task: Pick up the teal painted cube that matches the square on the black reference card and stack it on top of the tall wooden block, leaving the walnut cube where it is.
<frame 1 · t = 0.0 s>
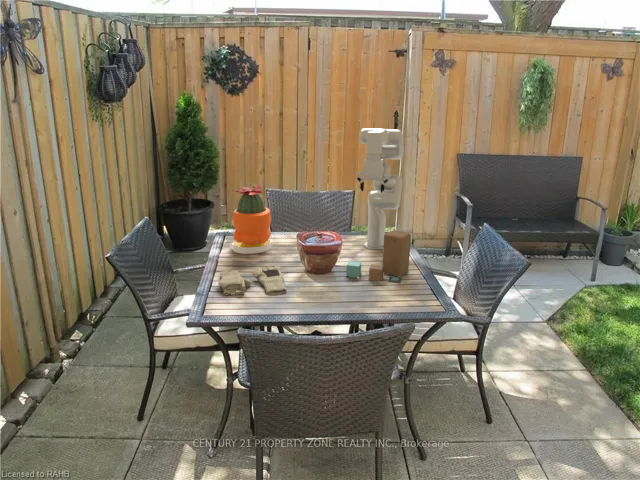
hand: (372, 191, 267), 37 cm above the table, tool pointing down, fingers open, 9 cm apart
potted cactus: (253, 249, 292), on the table
teal cube: (353, 275, 260), on the table
reference card: (394, 280, 254), on the table
pair of gloves: (251, 285, 247), on the table
wooden block: (395, 272, 264), on the table
walnut cube: (375, 278, 256), on the table
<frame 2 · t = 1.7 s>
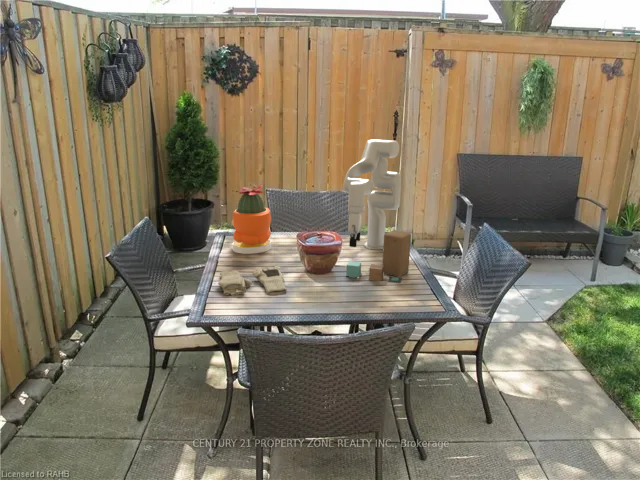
hand: (354, 243, 255), 16 cm above the table, tool pointing down, fingers open, 9 cm apart
nothing on the table moved.
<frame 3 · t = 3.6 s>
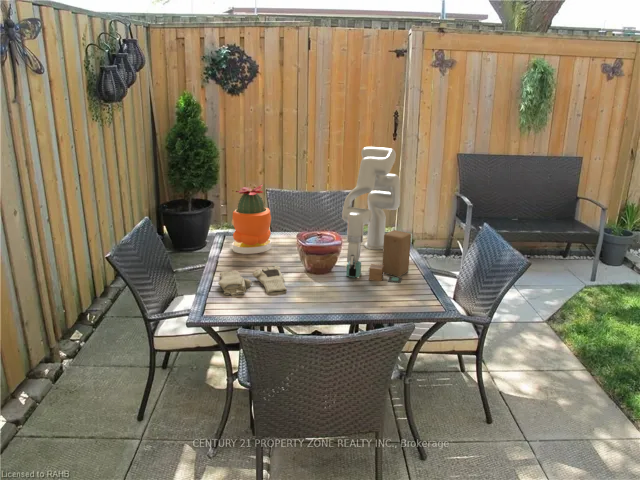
hand: (353, 273, 259), 1 cm above the table, tool pointing down, fingers closed on teal cube, 6 cm apart
teal cube: (353, 274, 260), on the table, touching gripper
everything else where it was.
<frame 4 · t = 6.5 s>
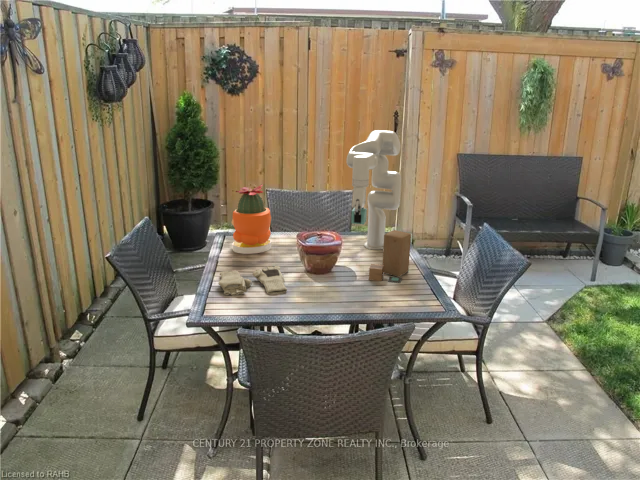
hand: (358, 220, 251), 27 cm above the table, tool pointing down, fingers closed on teal cube, 6 cm apart
teal cube: (358, 222, 252), point 26 cm above the table, touching gripper
everything else where it was.
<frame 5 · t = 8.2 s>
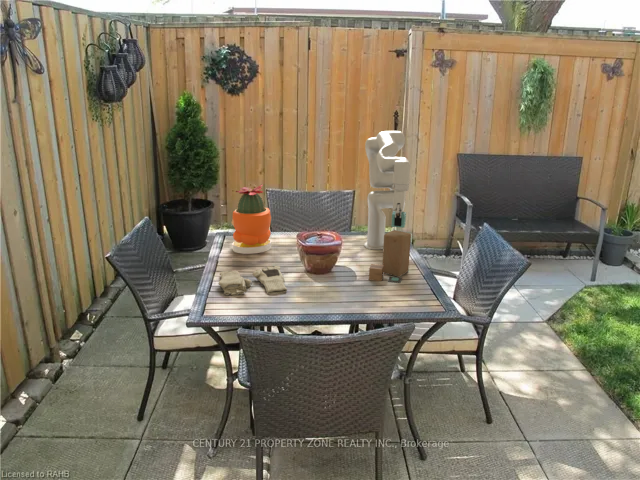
hand: (398, 223, 256), 25 cm above the table, tool pointing down, fingers closed on teal cube, 6 cm apart
teal cube: (398, 225, 256), point 24 cm above the table, touching gripper
everything else where it was.
when the fingers open (22 cm above the table, at t = 9.5 s): teal cube drops 1 cm, resting on wooden block.
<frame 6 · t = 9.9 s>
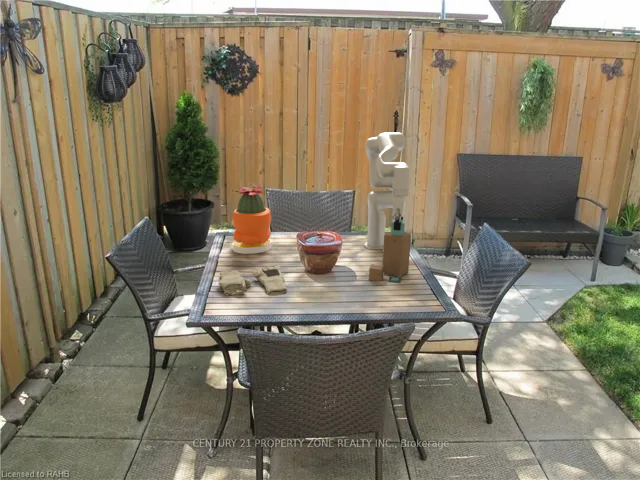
hand: (398, 227, 257), 23 cm above the table, tool pointing down, fingers open, 9 cm apart
teal cube: (397, 233, 258), point 20 cm above the table, touching wooden block
wooden block: (395, 272, 264), on the table, touching teal cube
everything else where it was.
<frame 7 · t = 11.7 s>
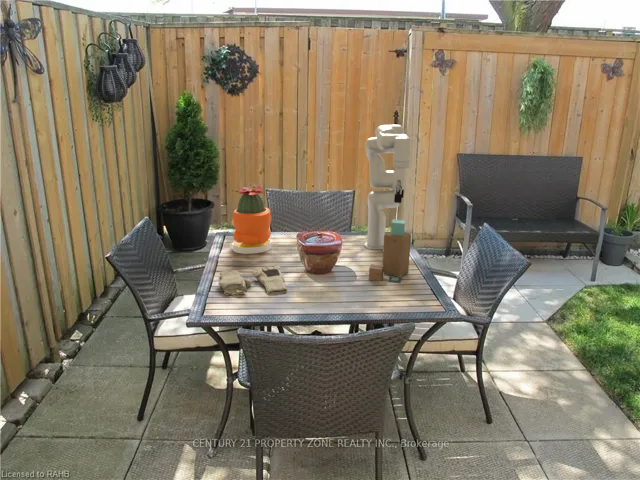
hand: (398, 200, 253), 36 cm above the table, tool pointing down, fingers open, 9 cm apart
nothing on the table moved.
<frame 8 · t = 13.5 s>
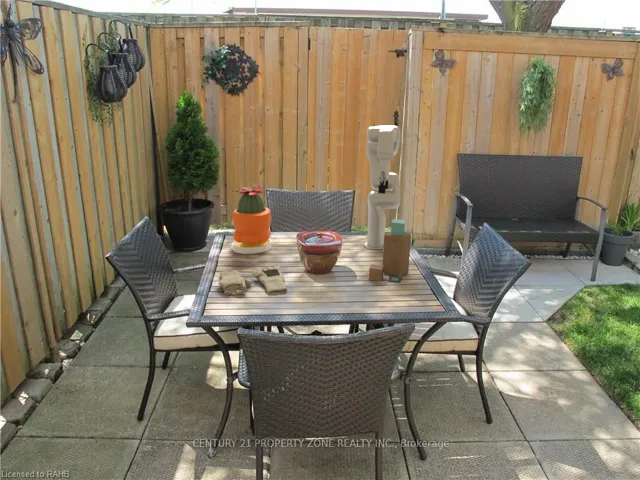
hand: (383, 191, 261), 38 cm above the table, tool pointing down, fingers open, 9 cm apart
nothing on the table moved.
at the end: teal cube 0.1 cm from the wooden block (horizontally); teal cube point 20.0 cm above the table; the gripper is holding nothing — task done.
